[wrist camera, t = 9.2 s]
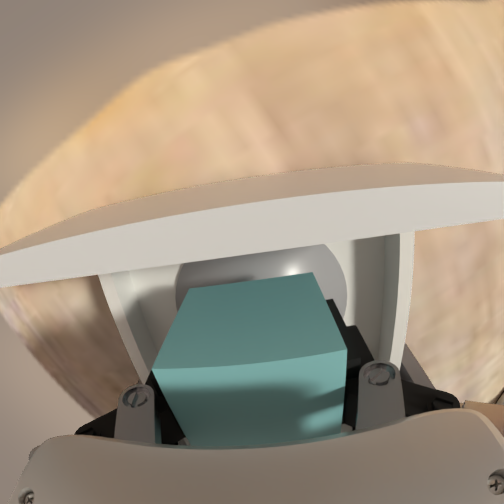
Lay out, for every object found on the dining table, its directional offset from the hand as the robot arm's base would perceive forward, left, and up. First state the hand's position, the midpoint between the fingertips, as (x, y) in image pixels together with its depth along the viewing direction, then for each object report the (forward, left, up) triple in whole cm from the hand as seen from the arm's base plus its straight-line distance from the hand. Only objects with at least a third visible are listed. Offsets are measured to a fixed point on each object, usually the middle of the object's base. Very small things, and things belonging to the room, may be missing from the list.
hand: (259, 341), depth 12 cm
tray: (0, +3, -5) cm, 5 cm away
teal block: (0, 0, -1) cm, 1 cm away
